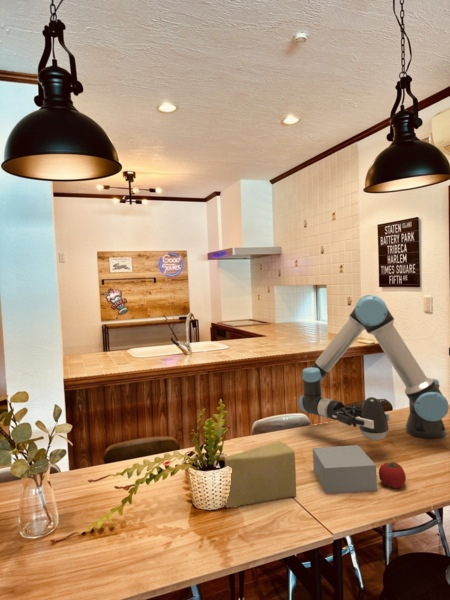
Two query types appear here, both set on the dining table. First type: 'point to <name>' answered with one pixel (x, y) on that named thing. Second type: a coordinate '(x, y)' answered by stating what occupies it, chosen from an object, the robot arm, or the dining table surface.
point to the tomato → (392, 475)
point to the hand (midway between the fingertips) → (381, 421)
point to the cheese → (262, 474)
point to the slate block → (344, 469)
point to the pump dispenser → (374, 419)
